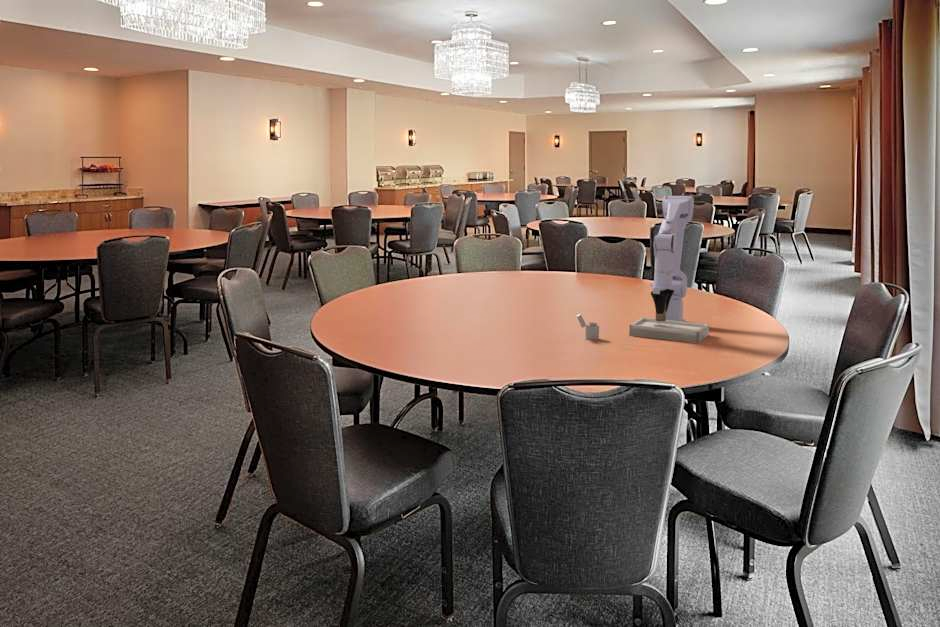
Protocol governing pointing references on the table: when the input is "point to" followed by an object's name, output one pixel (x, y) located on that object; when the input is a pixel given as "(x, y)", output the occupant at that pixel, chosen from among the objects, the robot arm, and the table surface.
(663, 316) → the peg
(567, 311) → the table surface
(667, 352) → the table surface
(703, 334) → the box
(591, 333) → the lighter
